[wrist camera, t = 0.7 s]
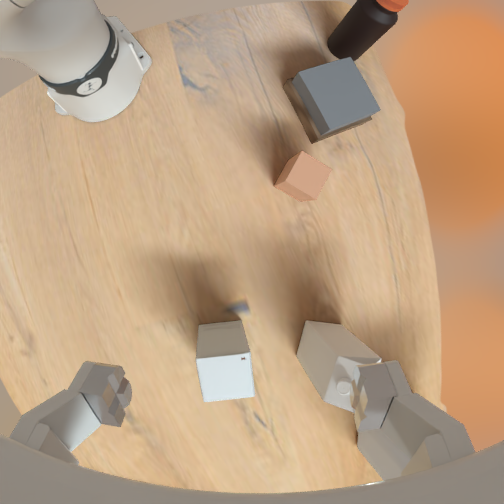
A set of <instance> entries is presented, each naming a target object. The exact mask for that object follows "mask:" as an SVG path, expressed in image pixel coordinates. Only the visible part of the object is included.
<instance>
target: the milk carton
mask: <svg viewBox="0 0 504 504" xmlns="http://www.w3.org/2000/svg"><path fill="white" fill-rule="evenodd" d="M296 357H297V359H298V360H299V362H300V364H301V365H302V367H303V369H304V370H305V372H306V373H307V375H308V377H309V378H310V380H311V382H312V383H313V385H314V386H315V388H316V390H317V391H318V393H319V395H320V396H321V398H322V399H323V401H324V402H327V403H329V404H332V405H335V406H337V407H340V408H343V409H345V410H348V411H351V412H353V413H354V414H355V411H356V410H355V409H354V408H352V407H351V402H350V385H351V382H352V381H353V380H354V375H353V371H354V368H355V366H356V365H364V364H371V363H379V362H381V359H382V358H381V357H379V356H378V355H377V354H376V353H375V352H374V351H372V350H371V349H370V348H369V347H368V346H367V345H365V344H364V343H363V342H362V341H361V340H359V339H358V338H357V337H356V336H355V335H354V334H352V333H351V332H350V331H349V330H348V329H346V328H345V327H344V326H343V325H340V324H332V323H324V322H316V321H308V320H306V322H305V325H304V329H303V333H302V337H301V340H300V344H299V348H298V351H297V355H296Z"/></svg>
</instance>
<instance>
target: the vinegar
mask: <svg viewBox="0 0 504 504" xmlns="http://www.w3.org/2000/svg"><path fill="white" fill-rule="evenodd" d="M407 4H408V0H357V2H356V3H355V4H354V5H353V7H352V8H351V9H350V11H349V12H348V13H347V14H346V16H345V17H344V18H343V20H342V21H341V22H340V24H339V25H338V26H337V28H336V29H335V30H334V32H333V33H332V34H331V36H330V37H329V39H328V47H329V49H330V51H331V52H332V53H333V54H334V56H336V57H337V58H339V59H344V58H348V57H351V58H352V60H353V61H355V60H357V59H358V58H359V57H360V56H361V55H362V54H363V53H364V52H365V51H367V50H368V49H369V48H370V47H371V46H372V45H373V44H374V43H375V42H376V41H377V40H378V39H379V38H380V37H381V36H382V35H383V34H385V33H386V32H387V31H388V30H389V29H390V28H391V27H392V26H393V25H394V24H395V23H396V22H397V19H398V15H397V12H399V11H401V9H403V8H404V7H405V6H406V5H407Z"/></svg>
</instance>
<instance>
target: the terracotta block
mask: <svg viewBox="0 0 504 504" xmlns="http://www.w3.org/2000/svg"><path fill="white" fill-rule="evenodd" d="M331 171H332V169H331V168H329V167H328V166H326V165H324V164H323V163H321V162H320V161H318V160H317V159H315V158H313V157H312V156H310V155H309V154H307V153H305V152H304V151H301V152H299V153H298V154H296V155H295V156H293V157H292V158H290V159H289V160H288V161H287V163H286V165H285V167H284V169H283V170H282V172H281V174H280V176H279V178H278V179H277V181H276V183H275V185H274V187H276V188H278V189H279V190H281V191H283V192H284V193H286V194H288V195H290V196H291V197H293V198H295V199H296V200H298V201H300V202H303V201H310V200H316V199H317V197H318V195H319V194H320V192H321V190H322V188H323V186H324V184H325V182H326V180H327V178H328V176H329V174H330V173H331Z"/></svg>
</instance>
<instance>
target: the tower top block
mask: <svg viewBox="0 0 504 504" xmlns="http://www.w3.org/2000/svg"><path fill="white" fill-rule="evenodd" d="M292 83H293V85H294V87H295V88H296V90H297V92H298V94H299V96H300V97H301V99H302V101H303V103H304V104H305V106H306V108H307V110H308V112H309V114H310V116H311V117H312V119H313V121H314V123H315V125H316V127H317V129H318V131H319V133H320V135H321V136H322V135H324V134H326V133H329V132H331V131H334V130H336V129H339V128H341V127H344V126H346V125H349V124H351V123H354V122H356V121H359V120H361V119H364V118H367V117H369V116H371V115H373V114H375V113H376V112H378V111H380V108H379V106H378V104H377V102H376V100H375V98H374V97H373V95H372V93H371V91H370V89H369V87H368V86H367V84H366V82H365V80H364V79H363V77H362V75H361V73H360V72H359V70H358V68H357V67H356V65H355V63H354V62H353V60H352V58H351V57H348V58H344V59H341V60H337V61H333V62H330V63H326V64H323V65H319V66H316V67H313V68H310V69H306V70H303V71H300V72H298V73H297V75H296V76H295V78H294V79H293V81H292Z"/></svg>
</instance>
